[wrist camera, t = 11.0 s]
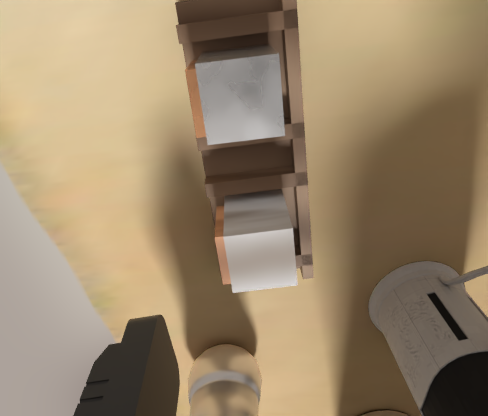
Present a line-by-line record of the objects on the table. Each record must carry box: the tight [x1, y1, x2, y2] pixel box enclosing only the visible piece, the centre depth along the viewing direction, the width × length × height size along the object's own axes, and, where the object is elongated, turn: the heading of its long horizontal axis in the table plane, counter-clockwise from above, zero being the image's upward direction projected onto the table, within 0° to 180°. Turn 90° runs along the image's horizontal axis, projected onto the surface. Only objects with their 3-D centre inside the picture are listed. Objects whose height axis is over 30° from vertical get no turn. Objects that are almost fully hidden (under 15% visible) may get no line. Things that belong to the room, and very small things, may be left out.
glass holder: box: [368, 261, 488, 416], centre depth 30 cm, size 9×14×15 cm, turn 170°
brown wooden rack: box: [175, 0, 313, 293], centre depth 27 cm, size 20×7×8 cm, turn 7°
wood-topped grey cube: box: [185, 44, 285, 145], centre depth 24 cm, size 4×5×6 cm
